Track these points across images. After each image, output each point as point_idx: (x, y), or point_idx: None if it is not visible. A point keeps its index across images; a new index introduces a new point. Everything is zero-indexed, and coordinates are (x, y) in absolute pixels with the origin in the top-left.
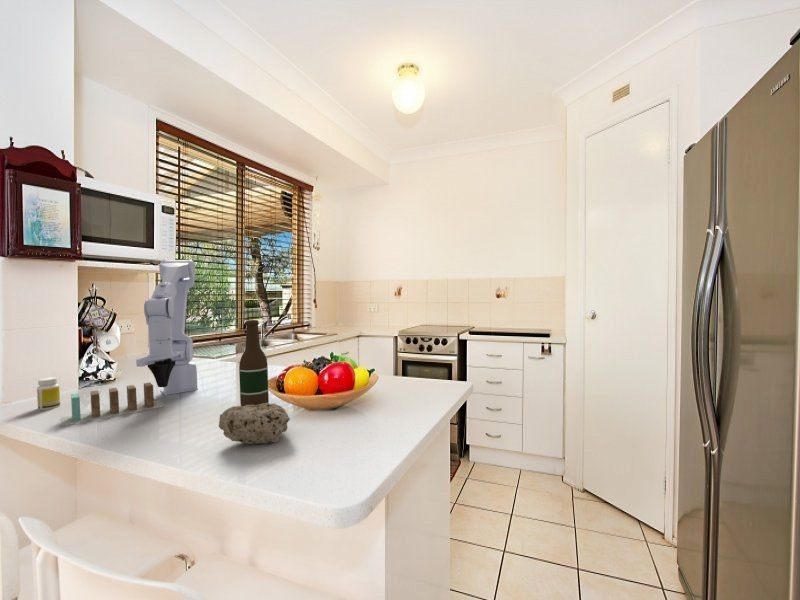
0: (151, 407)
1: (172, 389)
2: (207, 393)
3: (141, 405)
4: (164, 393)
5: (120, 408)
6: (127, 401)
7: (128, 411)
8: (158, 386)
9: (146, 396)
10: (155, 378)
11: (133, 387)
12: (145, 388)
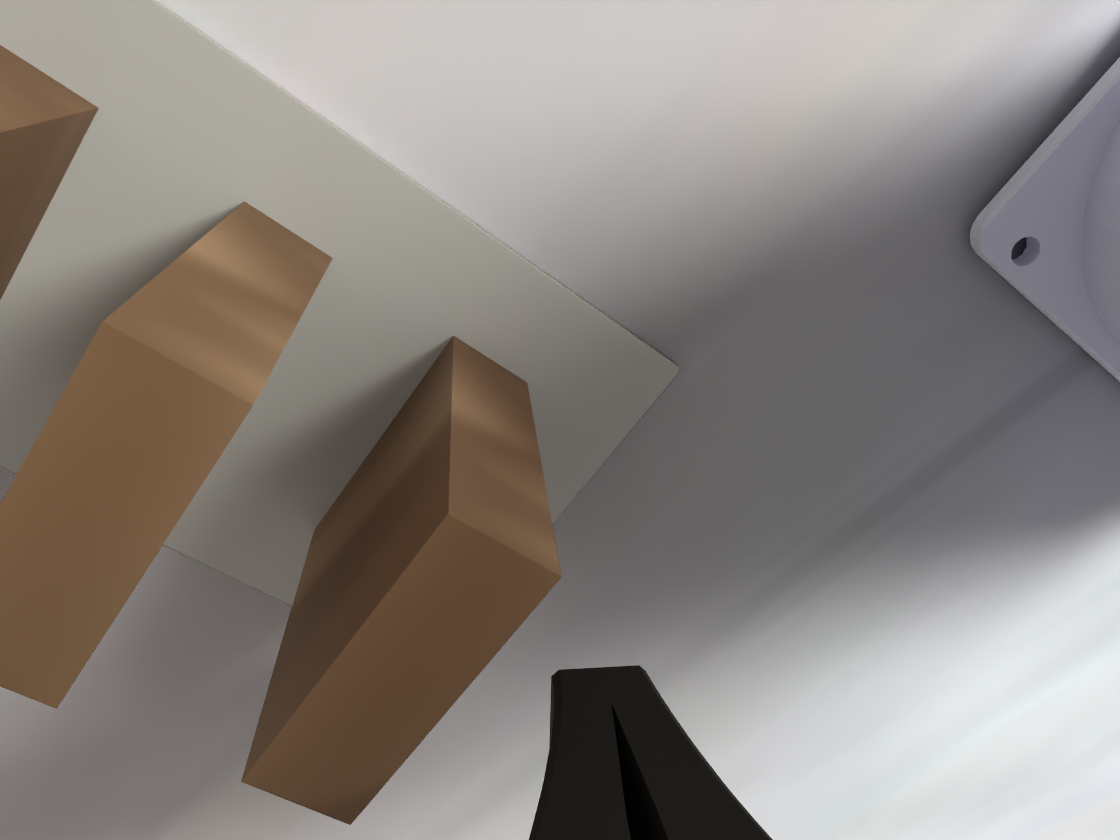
0: None
1: (1114, 289)
2: (1036, 699)
3: (383, 349)
4: (1011, 196)
5: (148, 134)
6: (215, 229)
7: None
8: (553, 693)
9: (305, 605)
10: (542, 805)
11: (65, 621)
12: (318, 647)
